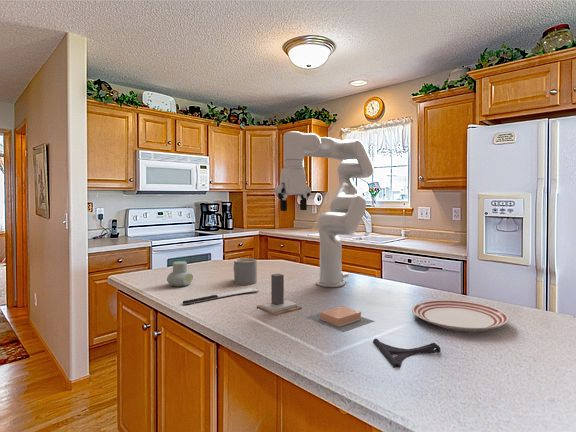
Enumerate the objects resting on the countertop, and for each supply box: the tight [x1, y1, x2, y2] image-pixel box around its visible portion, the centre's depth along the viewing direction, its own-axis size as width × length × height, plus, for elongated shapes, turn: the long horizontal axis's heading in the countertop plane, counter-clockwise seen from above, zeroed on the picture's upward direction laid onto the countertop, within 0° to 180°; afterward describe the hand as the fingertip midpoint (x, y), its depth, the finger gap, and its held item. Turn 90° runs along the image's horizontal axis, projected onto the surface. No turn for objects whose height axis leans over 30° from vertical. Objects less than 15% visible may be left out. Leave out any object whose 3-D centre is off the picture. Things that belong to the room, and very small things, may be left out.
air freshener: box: [166, 260, 194, 287], centre depth 161 cm, size 11×8×10 cm
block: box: [319, 305, 362, 326], centre depth 116 cm, size 10×2×8 cm
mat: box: [306, 312, 375, 333], centre depth 116 cm, size 14×16×1 cm
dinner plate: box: [411, 299, 510, 332], centre depth 116 cm, size 28×27×3 cm
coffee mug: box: [233, 257, 258, 286], centre depth 167 cm, size 13×10×10 cm
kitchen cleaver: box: [182, 287, 260, 306], centre depth 144 cm, size 31×2×10 cm
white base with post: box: [262, 273, 298, 312], centre depth 126 cm, size 6×10×11 cm, turn 129°
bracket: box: [372, 338, 442, 368], centre depth 93 cm, size 14×15×3 cm
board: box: [256, 302, 302, 316], centre depth 127 cm, size 11×11×1 cm
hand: (293, 210), depth 141 cm, fingers open, 9 cm apart
